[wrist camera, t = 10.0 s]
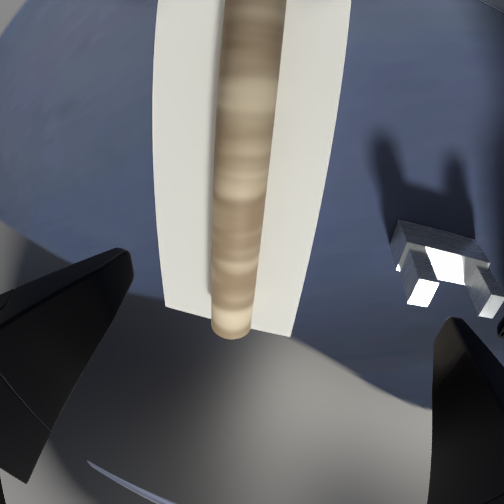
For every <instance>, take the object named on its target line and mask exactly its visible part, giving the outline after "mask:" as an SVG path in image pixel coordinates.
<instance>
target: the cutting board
mask: <svg viewBox="0 0 504 504" xmlns="http://www.w3.org/2000/svg"><path fill="white" fill-rule="evenodd" d="M224 6H225V0H158V7H157V18H156V31H155V46H154V66H153V109H152V123H153V168H154V189H155V206H156V220H157V233H158V244H159V254H160V264H161V273H162V282H163V290H164V298H165V305H166V307H170V308H173V309H177V310H180V311H184V312H188V313H191V314H195V315H199V316H203V317H207V318H210V319H211V255H212V203H213V172H214V148H215V127H216V109H217V92H218V77H219V63H220V50H221V38H222V27H223V16H224ZM350 7H351V0H287V3H286V13H285V23H284V33H283V43H282V52H281V62H280V72H279V81H278V91H277V100H276V109H275V119H274V128H273V137H272V146H271V155H270V164H269V173H268V182H267V191H266V200H265V209H264V218H263V226H262V235H261V244H260V252H259V261H258V270H257V278H256V287H255V295H254V303H253V312H252V320H251V329H256V330H260V331H265V332H269V333H274V334H279V335H283V336H288V337H290V335H291V331H292V328H293V324H294V320H295V316H296V312H297V308H298V304H299V300H300V296H301V292H302V287H303V283H304V279H305V275H306V270H307V266H308V262H309V257H310V253H311V248H312V244H313V239H314V235H315V230H316V225H317V220H318V215H319V211H320V206H321V201H322V196H323V190H324V185H325V180H326V175H327V169H328V164H329V158H330V153H331V147H332V141H333V135H334V129H335V123H336V117H337V110H338V104H339V97H340V90H341V83H342V76H343V68H344V61H345V53H346V44H347V36H348V27H349V17H350Z"/></svg>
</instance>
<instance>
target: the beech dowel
mask: <svg viewBox="0 0 504 504" xmlns="http://www.w3.org/2000/svg"><path fill="white" fill-rule="evenodd" d="M286 3H287V0H225V6H224V16H223V27H222V38H221V50H220V63H219V77H218V92H217V109H216V127H215V148H214V172H213V203H212V255H211V324H212V329H213V331H214V332H215V333H216V334H217V335H219V336H221V337H223V338H226V339H237V338H241V337H243V336H245V335H246V334H247V333H248V332H249V330H250V328H251V320H252V312H253V303H254V295H255V287H256V278H257V270H258V261H259V252H260V244H261V235H262V226H263V218H264V209H265V200H266V191H267V182H268V173H269V164H270V155H271V146H272V137H273V128H274V119H275V109H276V100H277V91H278V81H279V72H280V62H281V52H282V43H283V33H284V23H285V13H286Z"/></svg>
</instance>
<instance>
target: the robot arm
mask: <svg viewBox="0 0 504 504" xmlns="http://www.w3.org/2000/svg"><path fill="white" fill-rule="evenodd" d="M133 279H134V270H133V265H132V259H131V254H130V252H129V251H128V250H126V249H122V248H114V249H111V250H109V251H106V252H103V253H101V254H98V255H95V256H93V257H90V258H88V259H85V260H83V261H80V262H78V263H75V264H72V265H70V266H68V267H65V268H63V269H60V270H58V271H55V272H53V273H50V274H48V275H45V276H43V277H41V278H38V279H36V280H34V281H31V282H29V283H26V284H24V285H22V286H19V287H17V288H15V289H12V290H10V291H8V292H5V293H3V294H1V295H0V468H1V469H3V470H4V471H6V472H7V473H9V474H11V475H12V476H14V477H15V478H17V479H19V480H20V481H22V482H24V483H25V484H27V482H28V481H29V479H30V476H31V474H32V472H33V469H34V467H35V465H36V463H37V461H38V458H39V456H40V454H41V452H42V450H43V448H44V446H45V444H46V441H47V440H48V438H49V435H50V433H51V432H50V431H52V429H53V427H54V425H55V423H56V421H57V419H58V417H59V415H60V413H61V411H62V409H63V407H64V406H65V404H66V402H67V400H68V398H69V396H70V394H71V393H72V391H73V389H74V387H75V385H76V383H77V382H78V380H79V378H80V376H81V374H82V373H83V371H84V369H85V367H86V366H87V364H88V362H89V360H90V359H91V357H92V355H93V353H94V352H95V350H96V348H97V347H98V345H99V343H100V342H101V340H102V338H103V337H104V335H105V333H106V332H107V330H108V329H109V327H110V325H111V323H112V321H113V320H114V318H115V316H116V314H117V312H118V310H119V308H120V306H121V304H122V302H123V300H124V297H125V295H126V293H127V291H128V290H129V288H130V286H131V284H132V282H133ZM498 336H499V338H504V323H503V325H502V326H501V327H500V329H499V330H498ZM431 456H432V457H431V471H430V483H429V493H428V502H427V504H504V367H503V366H502V364H501V363H500V362H499V361H498V360H497V358H496V357H495V356H494V355H493V353H492V352H491V351H490V350H489V349H488V348H487V346H486V345H485V344H484V343H483V342H482V341H481V339H480V338H479V337H478V336H477V335H476V334H475V333H474V331H473V330H472V329H471V328H470V327H469V326H468V325H467V324H466V323H465V321H464V320H463V319H461V318H456V317H449V318H447V320H446V321H445V323H444V324H443V326H442V328H441V329H440V331H439V333H438V334H437V336H436V338H435V341H434V355H433V381H432V455H431ZM0 504H6V503H5V499H4V494H3V489H2V485H1V479H0Z"/></svg>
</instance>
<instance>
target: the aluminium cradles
mask: <svg viewBox="0 0 504 504" xmlns="http://www.w3.org/2000/svg"><path fill="white" fill-rule="evenodd" d="M479 1H481V2H483V3H485V4H487V5H489V6H490V7H492V8H494V9H496V10H498V11H500V12H502V13H503V14H504V0H479ZM390 248H391V252H392V256H393V260H394V264H395V268H396V270H397V271H400V272H401V276H402V280H403V285H404V289H405V293H406V298H407V302H408V303H409V304H414V305H420V306H425V307H427V306H428V304H429V302H430V300H431V298H432V297H433V295H434V293H435V291H436V289H437V287H438V285H439V281H438V279H439V280H444V281H449V282H453V283H458V284H462V285H465V286H466V288H467V290H468V292H469V295H470V297H471V299H472V302H473V304H474V306H475V309H476V311H477V314H478V316H481V317H487V318H493V317H494V315H495V314H496V312H497V311H498V309H499V307H500V306H501V304H502V303H503V301H504V294H503V292H502V290H501V288H500V286H499V284H498V283H497V281H496V279H495V277H494V275H493V274H492V272H491V270H490V268H489V265H490V261H489V260H488V258H487V257H486V255H485V253H484V252H483V250H482V249H481V247H480V246H479V244H478V243H477V241H476V240H475V239H472V238H469V237H465V236H462V235H458V234H455V233H451V232H447V231H444V230H440V229H436V228H432V227H429V226H425V225H421V224H417V223H413V222H409V221H405V220H401V219H398V221H397V224H396V227H395V230H394V233H393V236H392V239H391V242H390Z"/></svg>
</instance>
